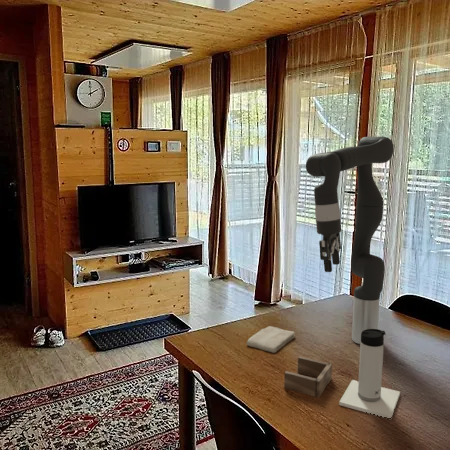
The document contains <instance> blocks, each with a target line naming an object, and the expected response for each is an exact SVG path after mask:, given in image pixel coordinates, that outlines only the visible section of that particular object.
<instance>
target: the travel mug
mask: <svg viewBox="0 0 450 450" xmlns="http://www.w3.org/2000/svg"><path fill="white" fill-rule="evenodd" d="M384 336H386V331H385V330H381V329H379V328H378V329H366V330H364V331H362V333H361V343H360V344H359V361H358V363H359V364H358V365H359V366H358V381H359V382H358V396H359V397H360V398H361V399H363V400H365V401H369V402H375V401H378V400H379V399H380V398H381V387H382V379H383V378H382V377H383V362H384V345H385V343H384V341H385V340H384V339H385V337H384Z"/></svg>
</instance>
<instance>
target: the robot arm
mask: <svg viewBox="0 0 450 450" xmlns="http://www.w3.org/2000/svg"><path fill="white" fill-rule="evenodd" d="M394 149H395V148H394V143H393V140H392V139H391V138H389V137H387V136H364V137H362V138H361V139H359V142H358V145H357V146H348V147H346V146H345V147H342V148H339V149H335V150H333V151H332V150H331V151H328V152H327V151H326V152H320V153H314V154H312V155H310V156H309V157H308V158H307V160H306V161H305V169H306V171H307V174H309V176H312V177H314V178H315V177H316V178H320V177H324V180H323V183H321V184H317V185H315V186H314V190H313V195H314V196H313V197H314V205H315V206H314V208H315V209H314V210H315V211H314V214H315V223H316V224H315V225H316V226H315V227H316V233H317V234H318V235H322V239H321V240H319V241H318V244H319V245H318V246H319V257H320V260H321V261H323V268H324V269H323V271H324V272H325V273H332V272H333V265H337V266H338V265H340V263H341V261H340V253H341V249H342V244H341V235H340V233H341V232H342V221H341V220H342V219H341V210H340V205H339V197H338V195H339V193H338V188H339V187H338V186H339V181H340V180H339V179H340V176H341V172H343V171H347V170H350V169H354V168H356V167H357V194H356V195H357V196H356V197H357V198H356V208H355V228H354V239H353V245H352V246H353V247H352V251H351V259H350V269H351V272H352V273H353V275H354V276H356V277H359V278H362V279H363V280H362V285H359V286H356V287H355V288H354V289H353V303H352V304H353V306H352V307H353V308H352V327H351V330H352V331H351V339H352V340H351V341H353V342H354V343H356V344H358V345H360V343H361V333H362V331H364V330H366V329H378V330H379V320H380V302H381V299H380V298H381V294H382V291H383V289H384V280H385V273H386V271H385V269H386V267H385V262H384V260H383V259H382V258H381V257H380V256H377V255H374V254H371V243H372V239H373V236H374V235H375V233H376V231H377V230H378V228H379V226H380V224H381V223H382V221H383V215H384V199H383V195H382V193H381V191H380V189H379V188H378V186H377V184H376V181H375V180H374V176H373V168H372V167H373V166H372V165H373V164H384V163H387V162H389V161H390V160H391V159H392V157H393V155H394Z"/></svg>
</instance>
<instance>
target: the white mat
mask: <svg viewBox="0 0 450 450" xmlns="http://www.w3.org/2000/svg"><path fill="white" fill-rule="evenodd" d="M358 382H359V380H355V379H351V381H350V383H349V384H348V386H347V388H346V390H345V391H344V393H343V395H342V397H341V398H340V399H339V403H338V405H339V406H341V407H345V408H348V409H349V408H350V409H352V410H356V411H360V412H363V413H366V412H367V413H366V414H370V413H371V414H370V415H373V414H375V415H374V416H377V415H378V416H377V417H380V416H382V417H381V418H384V417H387V418H391V417H392V418H393V415H394V412H395V410H394V409H396V406H397V404H398V402H399V401H398V400H399V398H400V395H401V391H399V390H396V389H395V390H394V389H391V388H387V387H383V386H381V398H380V399H379V400H378V401H375V402H369V401H365V400H363V399H361V398H360V397H359V396H358ZM387 418H386V419H387ZM392 418H391V419H392Z"/></svg>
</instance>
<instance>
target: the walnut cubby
mask: <svg viewBox="0 0 450 450" xmlns="http://www.w3.org/2000/svg"><path fill="white" fill-rule="evenodd" d="M332 372H333V364H332V363H331V362H324V361H321V360H316V359H313V358H309V357H304V356H300V355H299V356H298V357H297V373H296V372H291V371H288V370H285V372H284V379H283V380H284V381H283V382H284V383H283V384H284V385H283V386H284V389H285V390H291V391H294V392H296V393H297V392H298V393H301V394H304V395H308V396H312V397H316V398H320V397H321V395H322V394H323V392H324V390H326V388H327V386H328V384H329V383H330V382H331V380H332ZM299 373H300V374H299ZM303 374H304V375H303ZM306 375H308V376H306ZM314 377H315V378H314Z"/></svg>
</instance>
